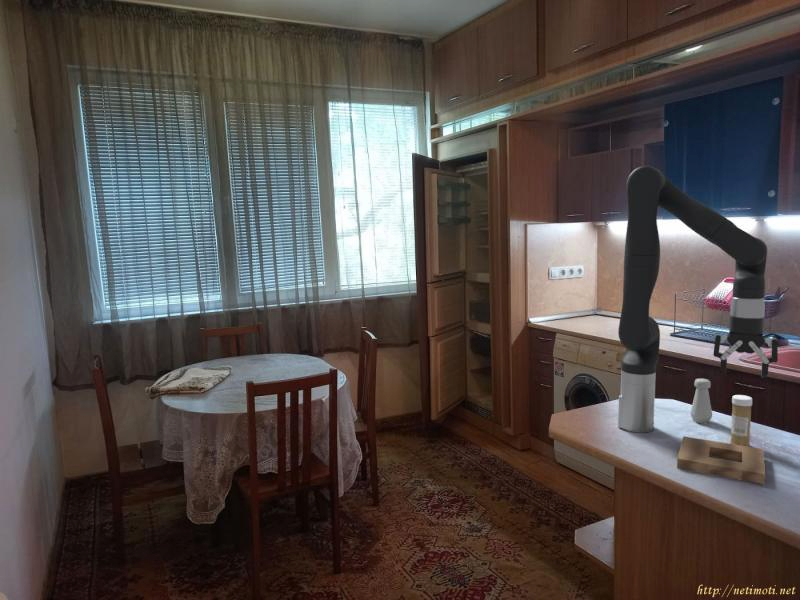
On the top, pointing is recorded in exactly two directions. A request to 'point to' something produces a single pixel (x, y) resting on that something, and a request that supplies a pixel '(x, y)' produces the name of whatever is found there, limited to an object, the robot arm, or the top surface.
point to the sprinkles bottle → (741, 420)
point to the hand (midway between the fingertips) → (743, 374)
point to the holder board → (698, 459)
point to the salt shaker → (701, 402)
